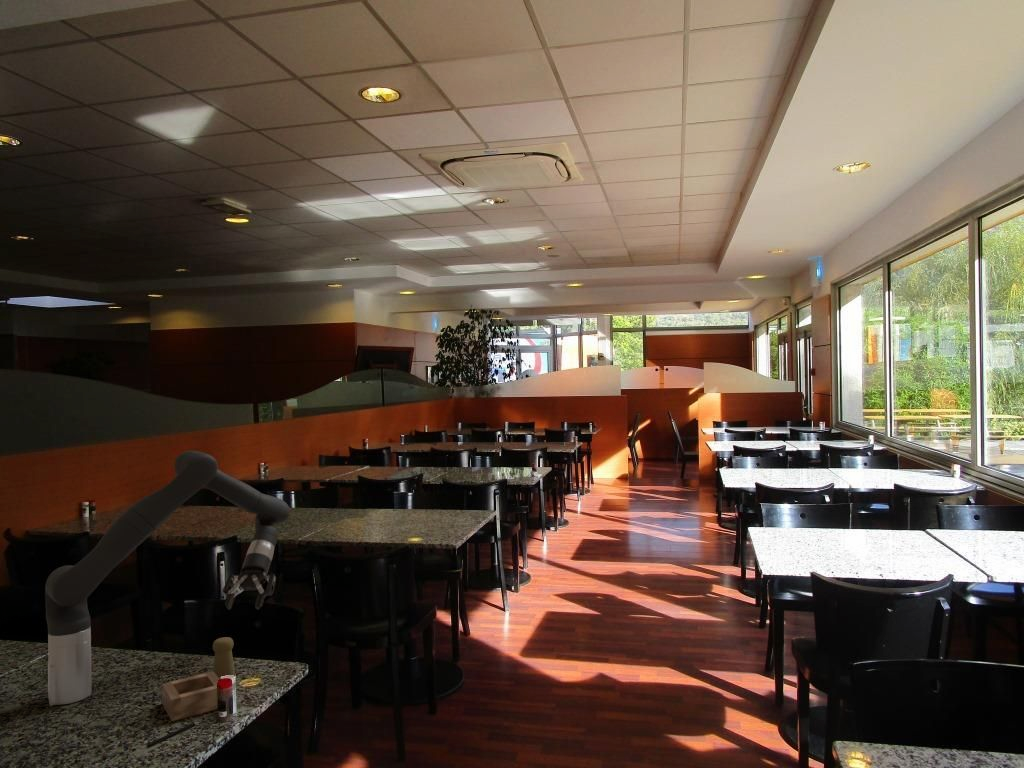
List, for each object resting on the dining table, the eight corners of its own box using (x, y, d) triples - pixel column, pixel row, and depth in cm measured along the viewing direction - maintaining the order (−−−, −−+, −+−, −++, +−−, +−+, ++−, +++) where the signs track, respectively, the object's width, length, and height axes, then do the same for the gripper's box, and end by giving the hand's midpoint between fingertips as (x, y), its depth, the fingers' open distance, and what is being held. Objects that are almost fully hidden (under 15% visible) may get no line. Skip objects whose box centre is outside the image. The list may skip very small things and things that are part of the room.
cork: (227, 684, 183) (226, 642, 183) (206, 683, 184) (205, 642, 185) (240, 675, 189) (239, 635, 189) (220, 674, 190) (219, 634, 190)
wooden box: (171, 721, 163) (171, 699, 163) (162, 703, 172) (162, 683, 172) (225, 706, 170) (225, 686, 170) (213, 690, 179) (213, 671, 180)
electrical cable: (196, 724, 161) (196, 720, 161) (199, 725, 161) (198, 721, 161) (146, 748, 151) (146, 743, 151) (149, 749, 150) (148, 744, 150)
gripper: (231, 552, 208) (213, 601, 197) (277, 551, 207) (262, 601, 196) (240, 565, 213) (223, 614, 202) (285, 564, 212) (270, 614, 201)
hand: (242, 608), depth 199 cm, fingers open, 8 cm apart
